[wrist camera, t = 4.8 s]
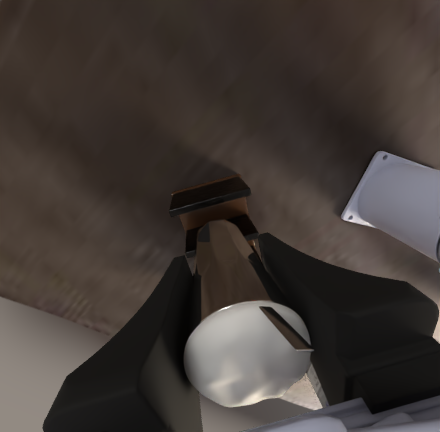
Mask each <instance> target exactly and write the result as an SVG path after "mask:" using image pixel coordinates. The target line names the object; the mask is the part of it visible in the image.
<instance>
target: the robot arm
mask: <svg viewBox="0 0 440 432" xmlns="http://www.w3.org/2000/svg"><path fill="white" fill-rule="evenodd" d="M383 157H384V158H383ZM349 216H350V217H349ZM341 218H342V219H343V220H345V221H349V222H353V223H357V224H361V225H366V226H370V227H374V228H378V229H380V230H382V231H383V232H385V233H387V234H389V235H391V236H392V237H394V238H396V239H398V240H399V241H401V242H403V243H405V244H407V245H408V246H410V247H412V248H414V249H415V250H417V251H419V252H421V253H422V254H424V255H426V256H428V257H430V258H431V259H433V260H435V261H437V262H438V263H440V170H436V169H432V168H429V167H426V166H424V165H421V164H418V163H415V162H412V161H409V160H407V159H404V158H401V157H398V156H395V155H393V154H390V153H387V152H384V151H378V152H377V153H376V154H375V155H374V157H373V159H372V161H371V162H370V164H369V166H368V168H367V170H366V171H365V173H364V175H363V177H362V179H361V181H360V182H359V184H358V186H357V188H356V190H355V191H354V193H353V195H352V197H351V199H350V200H349V202H348V204H347V206H346V208H345V209H344V211H343V213H342V215H341ZM257 236H258V241H259V247H260V252H261V258H262V263H263V265H264V268H265V269H266V271H267V272H268V273H269V275H270V276H271V277H272V279H273V280H274V282H275V283H276V284H277V286H278V287H279V288H280V290H281V291H282V293H283V294H284V295H285V297H286V298H287V299H288V301H289V302H290V304H291V305H292V306H293V308H294V309H295V311H296V312H297V313H298V315H299V316H300V317H301V319H302V320H303V322H304V324H305V326H306V328H307V330H308V333H309V336H310V341H311V346H312V347H313V348H314V351H313V352H311V355H310V361H311V363H312V365H313V368H314V370H315V372H316V375H317V377H318V379H319V382H320V384H321V387H322V389H323V392H324V394H325V396H326V399H327V401H328V404H329V407H325V408H322V409H318V410H315V411H311V412H308V413H304V414H301V415H298V416H294V417H290V418H287V419H283V420H280V421H276V422H273V423H269V424H266V425H262V426H259V427H255V428H252V429H248V430H244V431H241V432H440V344H439V343H438V342H437V341H436V340H435V339H434V338H433V337H432V336H433V333H434V330H435V327H436V324H437V321H438V317H439V310H438V306H437V304H436V303H435V302H434V301H433V300H431V299H430V298H428V297H427V296H426V295H424V294H423V293H422V292H420V291H419V290H418V289H416V288H415V287H414V286H412V285H411V284H409V283H408V282H405V281H399V280H394V279H388V278H382V277H376V276H372V275H367V274H363V273H359V272H355V271H351V270H347V269H344V268H341V267H338V266H334V265H331V264H328V263H326V262H323V261H321V260H318V259H315V258H313V257H311V256H308V255H306V254H304V253H302V252H300V251H298V250H296V249H294V248H293V247H291V246H289V245H287V244H286V243H284V242H282V241H281V240H279V239H277V238H276V237H274V236H273V235H271V234H269V233H268V232H267V233H264V234H260V235H257ZM438 272H439V273H440V268H439V270H438ZM192 284H193V276H192V273H191V270H190V268H189V265H188V263H187V260H186V257H185V255H183V256H179V257H176V258H174V259H173V261H172V262H171V264H170V266H169V267H168V269H167V271H166V272H165V274H164V276H163V277H162V279H161V281H160V282H159V284H158V285H157V287H156V288H155V289H154V291H153V292H152V294H151V295H150V297H149V298H148V299H147V301H146V302H145V303H144V304H143V306H142V307H141V308H140V309H139V310H138V312H137V313H136V314H135V315H134V316H133V317H132V318H131V319H130V320H129V322H128V323H127V324H126V325H125V326H124V327H123V328H122V329H121V330H120V331H119V332H118V333H117V334H116V335H115V336H114V337H113V338H112V339H111V340H110V341H109V342H107V343H106V344H105V345H104V346H103V347H102V348H101V349H100V350H99V351H97V352H96V353H95V354H94V355H93V356H92V357H90V358H89V359H88V360H87V361H85V362H84V363H83V364H82V365H80V366H79V367H78V368H77V369H76V370H74V371H73V372H72V373H70V374H69V375H68V376H67V377H66V379H65V381H64V383H63V385H62V387H61V389H60V391H59V393H58V395H57V397H56V399H55V401H54V403H53V405H52V407H51V409H50V411H49V413H48V415H47V417H46V419H45V421H44V424H43V431H44V432H203V428H202V419H201V409H200V399H199V391H197V390H196V389H195V388H194V387H193V385H192V384H191V382H190V381H189V379H188V377H187V375H186V372H185V368H184V350H185V341H186V332H187V324H188V315H189V307H190V299H191V294H192Z"/></svg>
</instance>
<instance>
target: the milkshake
mask: <svg viewBox="0 0 440 432" xmlns="http://www.w3.org/2000/svg"><path fill="white" fill-rule="evenodd" d="M313 351H314V348H313V347H312V346H311V341H310V336H309V333H308V330H307V328H306V326H305V324H304V322H303V320H302V319H301V317H300V316H299V315H298V313H297V312H296V311H295V309H294V308H293V306H292V305H291V304H290V302H289V301H288V299H287V298H286V297H285V295H284V294H283V293H282V291H281V290H280V288H279V287H278V286H277V284H276V283H275V282H274V280H273V279H272V277H271V276H270V275H269V273H268V272H267V271H266V269H265V268H264V266H263V265H262V263H261V262H260V260H259V259H258V257H257V256H256V254H255V253H254V251H253V250H252V248H251V247H250V245H249V244H248V242H247V241H246V239H245V238H244V236H243V235H242V233H241V232H240V230H239V229H238V227H237V226H236V225H235V224H233V223H231V222H228V221H226V220H224V219H220V220H214V221H208V222H207V223H206V224H205V225H204V226H203V227H202V228H201V229H200V230H199V231H198V233H197V239H196V244H195V257H194V271H193V284H192V294H191V299H190V307H189V315H188V324H187V332H186V341H185V350H184V368H185V372H186V375H187V377H188V379H189V381H190V382H191V384H192V385H193V387H194V388H195V389H196V390H197V391H199V392H200V393H201V394H202V395H204V396H205V397H207V398H209V399H211V400H213V401H214V402H216V403H218V404H220V405H222V406H226V407H237V406H244V405H250V404H254V403H257V402H259V401H261V400H263V399H268V398H278V397H280V396H282V395H284V394H285V393H286V392H287V391H288V389H289V388H290V387H291V386H292V385H293V384H294V383H296V382H297V381H299V380H300V379H301V378H302V377H303V376H304V375H305V373H306V371H307V369H308V366H309V361H310V355H311V352H313Z"/></svg>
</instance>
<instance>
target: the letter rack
mask: <svg viewBox="0 0 440 432" xmlns="http://www.w3.org/2000/svg"><path fill="white" fill-rule="evenodd" d="M171 195H172V201H171V205H170V209H169V213H170V215H171V217H174V216H177V215H179V217H180V220H181V222H182V225H183V228H184V230H185V233H186V250H185V254H186V256H187V258H189V257H193V256H194V257H195V244H196V239H197V233H198V231H199V230H200V229H201V228H202V227H203V226H204V225H205V224H206V223H207V222H208V221H214V220H220V219H224V220H226V221H228V222H231V223H233V224H235V225H236V226H237V227H238V229H239V230H240V232H241V233H242V235H243V236H244V238H245V239H246V241H247V242H248V244H249V245H250V247H251V248H252V250H253V251H254V253H255V254H256V256H257V257H258V259H259V260H260V258H259V256H258V254H257V252H256V248H255V243H254V239H257V238H258V236H257V235H259V233H258V231H257V230H256V228H255V226H254V225H253V223H252V221H251V220H250V218H249V213H248V208H247V203H246V198H245V197H246V196H249V195H251V191H250V188H249V187H248V186H247V185H246V184H245V182H244V181H243V180H242V179H241V175H240V174H236V175H232V176H229V177H225V178H221V179H218V180H214V181H211V182H207V183H203V184H200V185H196V186H192V187H189V188H185V189H182V190H178V191H174V192H172V194H171ZM260 262H261V260H260ZM261 263H262V262H261ZM262 265H263V264H262Z"/></svg>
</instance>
